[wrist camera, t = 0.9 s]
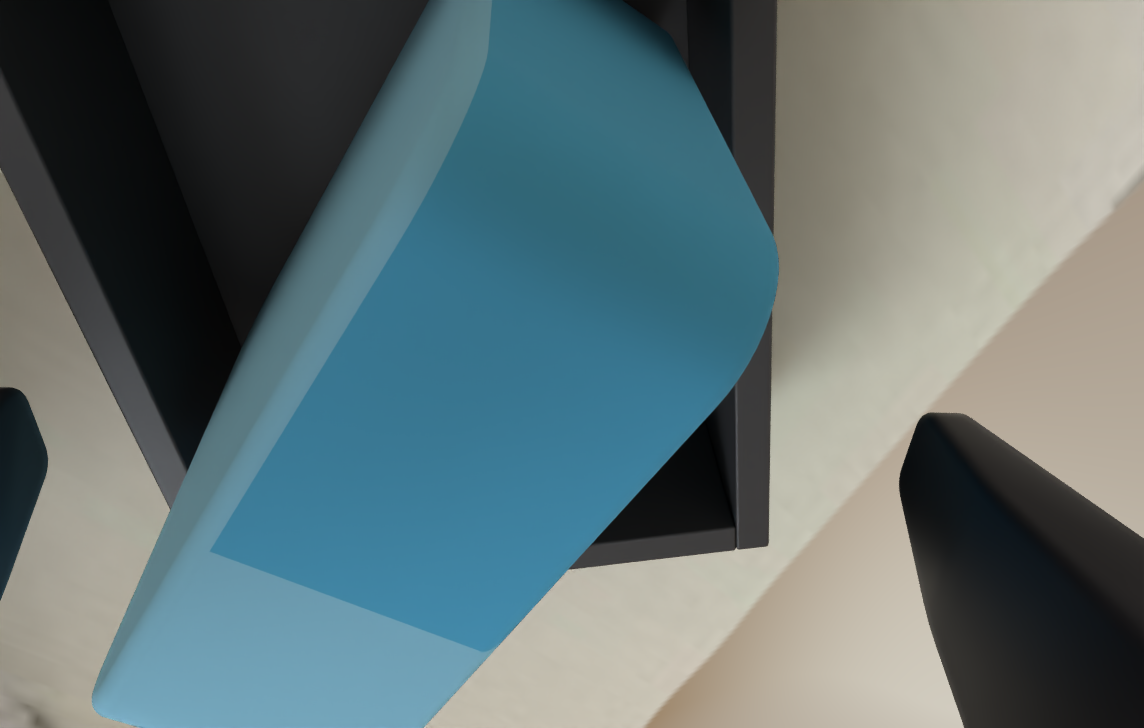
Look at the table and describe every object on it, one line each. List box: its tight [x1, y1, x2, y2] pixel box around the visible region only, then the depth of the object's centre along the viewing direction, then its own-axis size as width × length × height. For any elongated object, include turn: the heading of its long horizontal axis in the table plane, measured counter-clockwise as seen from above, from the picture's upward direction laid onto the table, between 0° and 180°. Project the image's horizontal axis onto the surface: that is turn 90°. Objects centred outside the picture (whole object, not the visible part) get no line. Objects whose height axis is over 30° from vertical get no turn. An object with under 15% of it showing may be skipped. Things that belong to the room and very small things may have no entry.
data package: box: [92, 0, 779, 728], centre depth 17 cm, size 12×4×12 cm, turn 146°
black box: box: [0, 0, 777, 570], centre depth 20 cm, size 14×17×5 cm
